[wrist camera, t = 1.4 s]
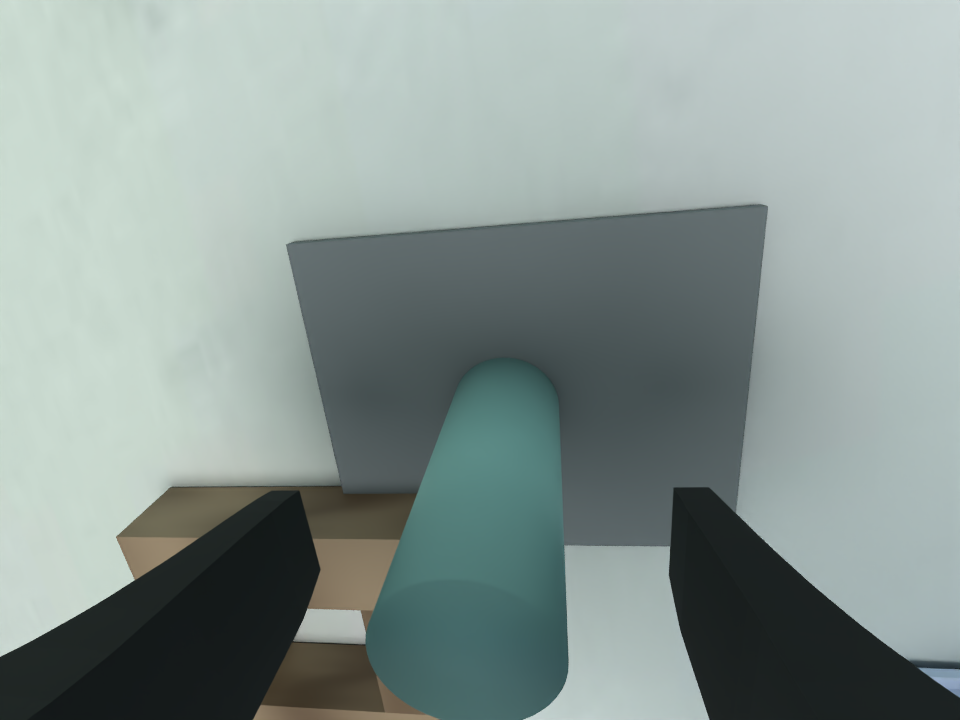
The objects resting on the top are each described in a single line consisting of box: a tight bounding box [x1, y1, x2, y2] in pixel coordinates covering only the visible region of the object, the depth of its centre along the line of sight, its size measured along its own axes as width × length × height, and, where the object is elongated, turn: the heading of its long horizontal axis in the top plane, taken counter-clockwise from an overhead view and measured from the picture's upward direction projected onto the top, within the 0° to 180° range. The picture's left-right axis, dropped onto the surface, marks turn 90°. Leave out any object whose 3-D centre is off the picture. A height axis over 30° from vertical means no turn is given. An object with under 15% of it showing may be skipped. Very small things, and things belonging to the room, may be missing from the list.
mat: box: [286, 205, 768, 546], centre depth 15 cm, size 12×10×1 cm
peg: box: [366, 358, 568, 720], centre depth 11 cm, size 3×3×8 cm
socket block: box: [116, 486, 441, 720], centre depth 18 cm, size 10×10×2 cm
